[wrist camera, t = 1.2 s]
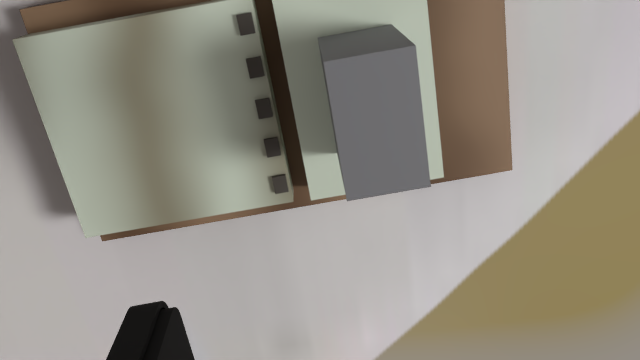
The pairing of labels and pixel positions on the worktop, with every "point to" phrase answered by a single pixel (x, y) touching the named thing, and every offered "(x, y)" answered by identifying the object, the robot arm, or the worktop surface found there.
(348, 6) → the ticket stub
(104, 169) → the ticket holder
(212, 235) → the worktop surface
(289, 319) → the worktop surface
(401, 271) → the worktop surface
